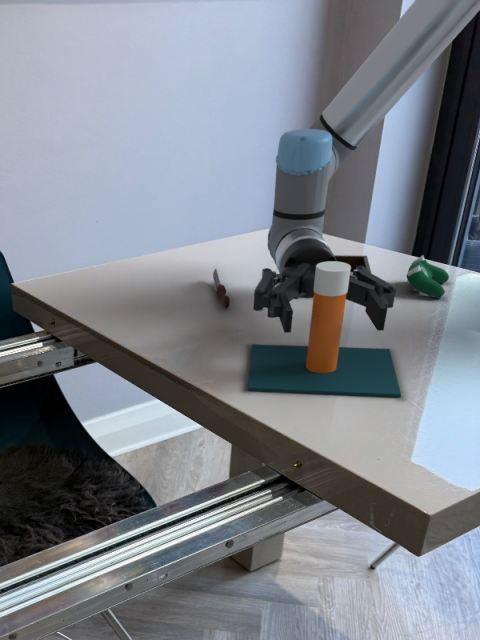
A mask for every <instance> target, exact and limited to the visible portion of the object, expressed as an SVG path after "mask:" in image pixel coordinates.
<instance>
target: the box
mask: <svg viewBox="0 0 480 640" xmlns="http://www.w3.org/2000/svg"><path fill="white" fill-rule="evenodd" d="M334 256H335V258H336V261H337V262H343V263H347V264H349V265H350V266H351V270H350V272H353V270H354V269H356V267H358V266H363V267H365V268H366V269H367V271H368V272H370V273H371V274H373V273H372V270H371V265H370V263H369V258H368V255H351V254H350V255H347V254H346V255H344V254H341V255H337V254H334Z"/></svg>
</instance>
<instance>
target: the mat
mask: <svg viewBox="0 0 480 640" xmlns="http://www.w3.org/2000/svg"><path fill="white" fill-rule="evenodd" d="M307 351H308V345H285V344H284V345H283V344H256V343H253V344H252V347H251V355H250V356H251V357H250V365H249V367H250V368H249V376H248V384H247V385H248V386H247V391H251V392H274V393H291V394H292V393H293V394H295V393H296V394H314V395H315V394H319V395H338V396H339V395H340V396H342V395H343V396H360V397H365V396H366V397H386V398H401V397H402V393H401V389H400V385H399V382H398V381H399V380H398V378H397V377H398V376H397V373H396V369H395V366H394V361H393V358H392V355H391V350H390V348H379V347H377V348H376V347H375V348H374V347H349V346H348V347H345V346H344V347H343V346H339V352H338V359H337V367H336V370H335V371H333V372H330V373H315V372H312V371H309V370H308V369H307V368H306V360H307Z"/></svg>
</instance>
